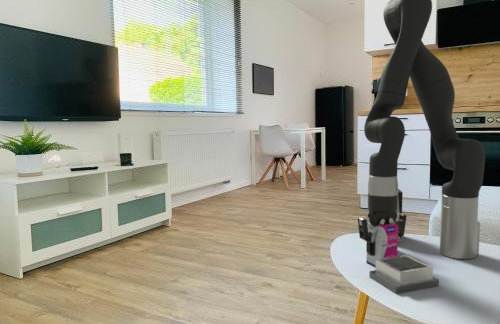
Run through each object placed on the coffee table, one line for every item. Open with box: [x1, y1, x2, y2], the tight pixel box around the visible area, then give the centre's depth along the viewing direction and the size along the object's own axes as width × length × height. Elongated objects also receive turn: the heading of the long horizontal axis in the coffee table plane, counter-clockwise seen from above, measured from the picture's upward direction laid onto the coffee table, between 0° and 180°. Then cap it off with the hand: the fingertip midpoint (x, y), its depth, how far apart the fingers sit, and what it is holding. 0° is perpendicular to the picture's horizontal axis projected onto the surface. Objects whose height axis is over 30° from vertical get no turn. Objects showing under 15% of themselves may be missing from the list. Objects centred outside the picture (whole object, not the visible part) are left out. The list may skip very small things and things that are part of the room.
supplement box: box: [365, 222, 399, 268], centre depth 105 cm, size 6×6×12 cm
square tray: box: [368, 254, 440, 295], centre depth 94 cm, size 12×10×4 cm
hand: (381, 253), depth 105 cm, fingers closed on supplement box, 6 cm apart
